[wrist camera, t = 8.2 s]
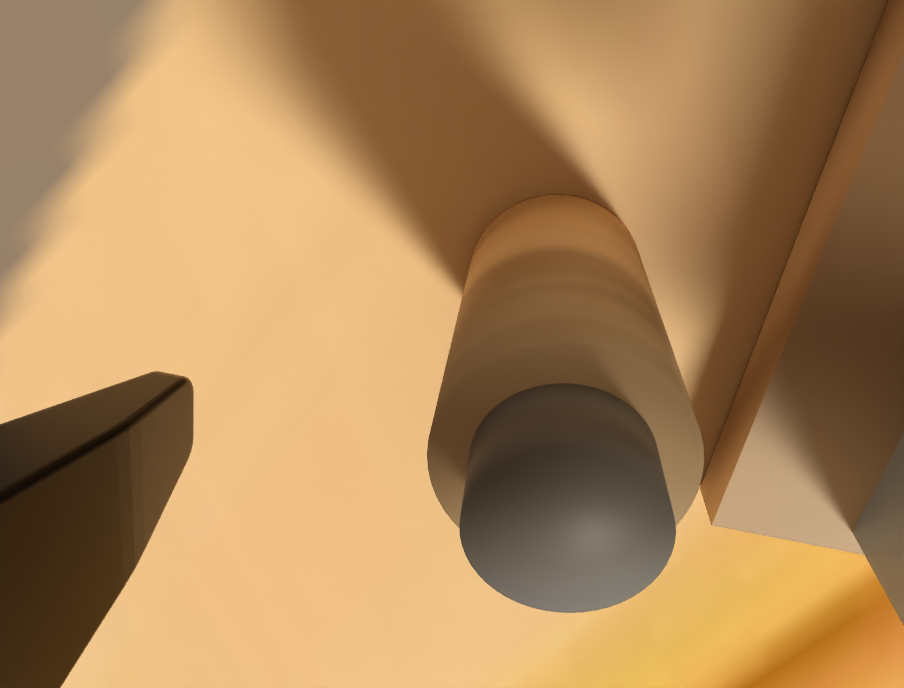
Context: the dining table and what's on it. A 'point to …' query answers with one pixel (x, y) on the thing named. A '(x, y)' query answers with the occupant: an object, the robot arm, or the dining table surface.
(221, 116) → the dining table surface
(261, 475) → the dining table surface
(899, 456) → the block
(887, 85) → the board
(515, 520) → the tan small bottle
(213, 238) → the dining table surface
